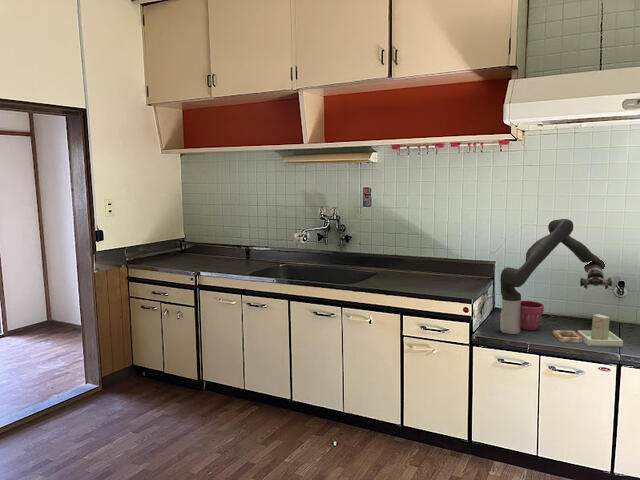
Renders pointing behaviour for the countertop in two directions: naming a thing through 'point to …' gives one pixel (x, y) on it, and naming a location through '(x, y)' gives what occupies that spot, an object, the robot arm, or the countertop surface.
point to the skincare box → (600, 327)
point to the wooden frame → (567, 339)
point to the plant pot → (530, 314)
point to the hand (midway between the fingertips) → (596, 287)
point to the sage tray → (611, 342)
